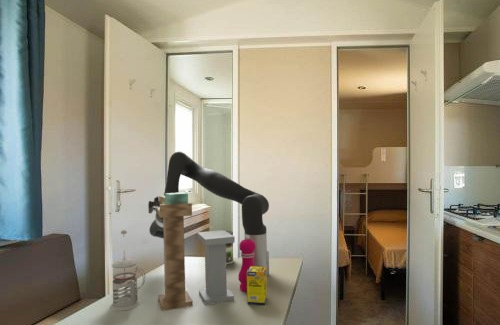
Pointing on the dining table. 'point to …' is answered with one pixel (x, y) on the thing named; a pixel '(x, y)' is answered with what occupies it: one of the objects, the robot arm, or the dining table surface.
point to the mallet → (173, 198)
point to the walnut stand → (174, 255)
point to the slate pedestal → (215, 266)
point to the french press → (125, 285)
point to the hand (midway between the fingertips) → (169, 197)
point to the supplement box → (257, 285)
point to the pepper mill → (246, 260)
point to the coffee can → (229, 251)
